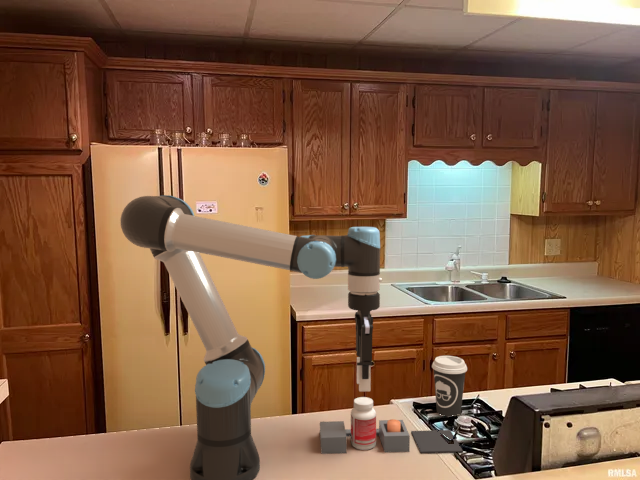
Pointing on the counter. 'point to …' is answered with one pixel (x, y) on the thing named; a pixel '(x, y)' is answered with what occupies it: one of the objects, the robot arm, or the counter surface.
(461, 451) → the mat
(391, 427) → the plunger
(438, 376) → the coffee cup
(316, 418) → the counter surface
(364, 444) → the pill bottle
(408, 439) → the housing
